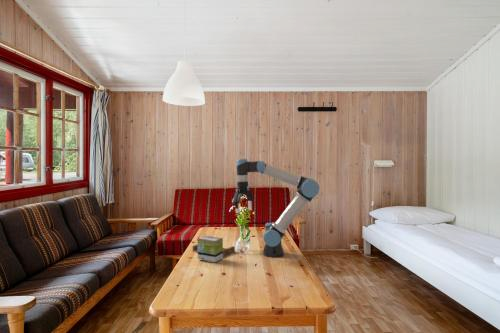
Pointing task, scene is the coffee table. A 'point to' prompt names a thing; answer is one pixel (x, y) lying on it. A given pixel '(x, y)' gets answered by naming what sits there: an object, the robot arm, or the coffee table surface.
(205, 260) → the trivet
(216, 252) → the tea box
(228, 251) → the caddy
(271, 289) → the coffee table surface
